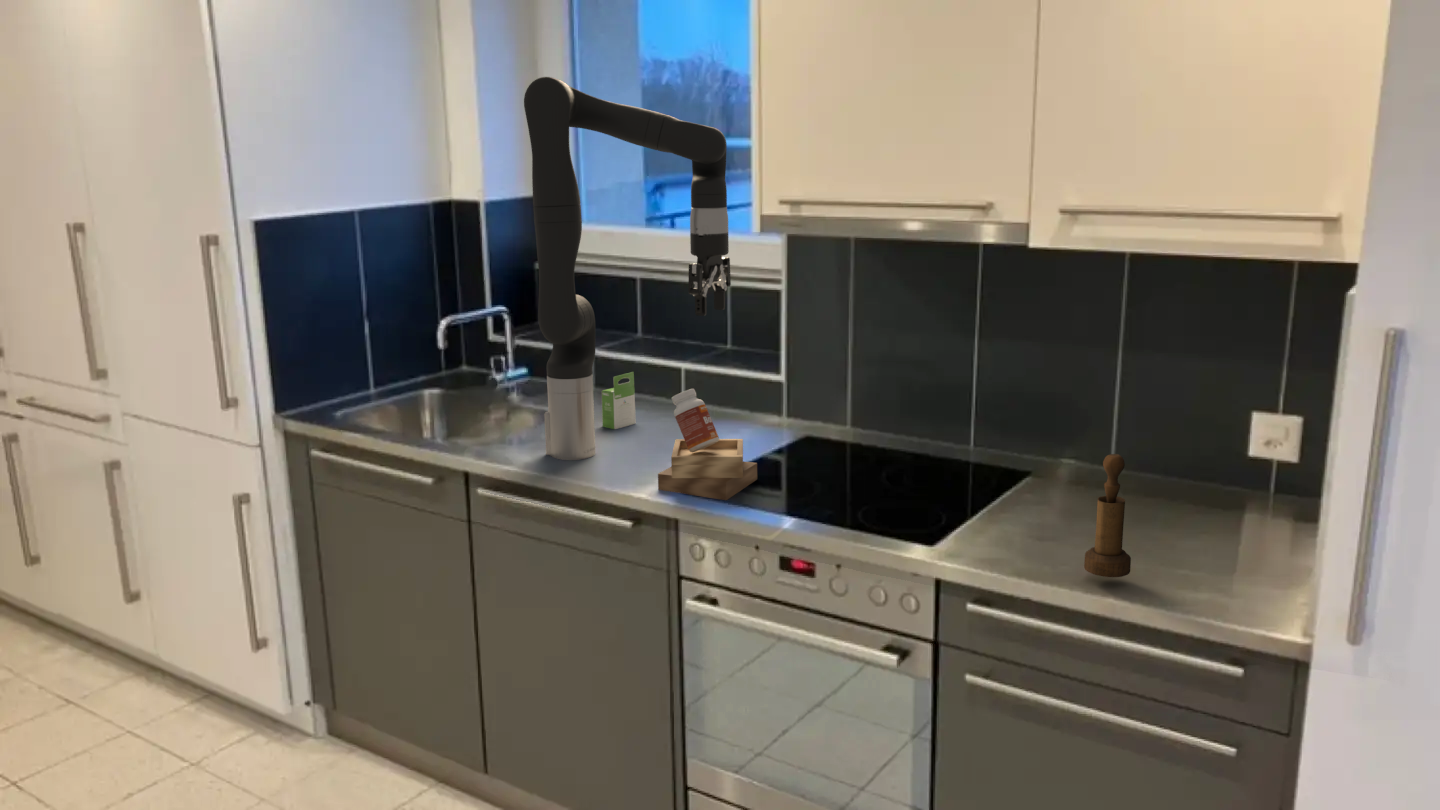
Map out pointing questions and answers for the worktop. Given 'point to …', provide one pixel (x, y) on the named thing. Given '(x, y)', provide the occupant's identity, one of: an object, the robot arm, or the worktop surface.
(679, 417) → the pill bottle
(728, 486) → the tower base
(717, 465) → the tower top
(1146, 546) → the worktop surface
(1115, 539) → the mortar and pestle
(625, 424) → the ink box
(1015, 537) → the worktop surface
